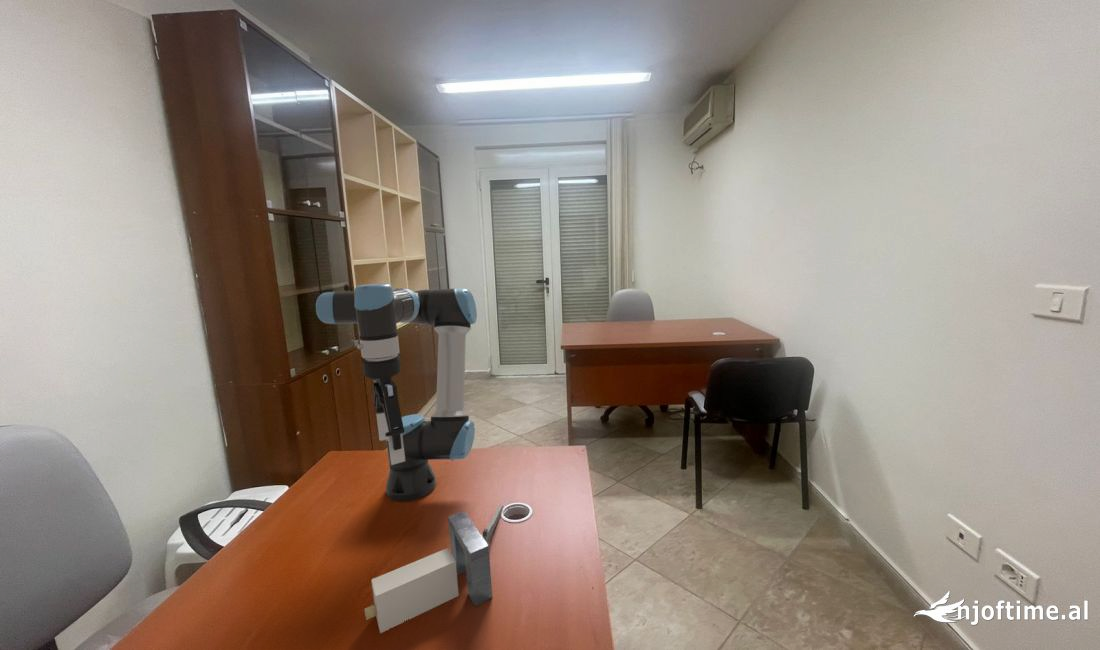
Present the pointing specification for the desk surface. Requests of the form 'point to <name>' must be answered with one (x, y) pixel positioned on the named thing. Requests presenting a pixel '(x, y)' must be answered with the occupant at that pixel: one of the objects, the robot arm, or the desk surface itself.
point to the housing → (471, 556)
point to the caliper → (492, 525)
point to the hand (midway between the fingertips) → (391, 450)
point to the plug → (413, 589)
